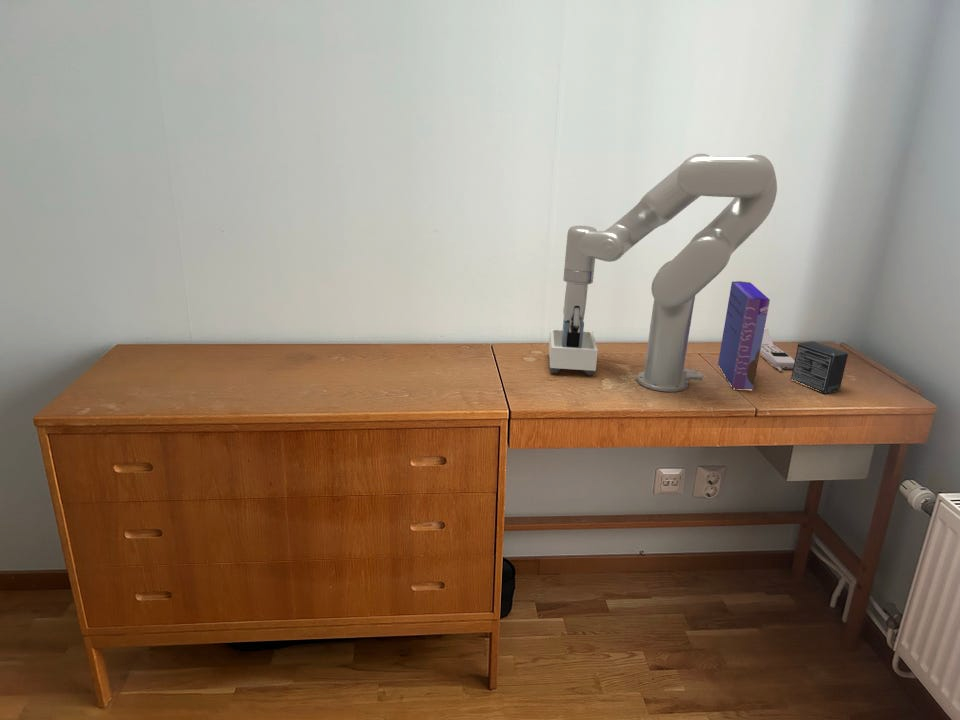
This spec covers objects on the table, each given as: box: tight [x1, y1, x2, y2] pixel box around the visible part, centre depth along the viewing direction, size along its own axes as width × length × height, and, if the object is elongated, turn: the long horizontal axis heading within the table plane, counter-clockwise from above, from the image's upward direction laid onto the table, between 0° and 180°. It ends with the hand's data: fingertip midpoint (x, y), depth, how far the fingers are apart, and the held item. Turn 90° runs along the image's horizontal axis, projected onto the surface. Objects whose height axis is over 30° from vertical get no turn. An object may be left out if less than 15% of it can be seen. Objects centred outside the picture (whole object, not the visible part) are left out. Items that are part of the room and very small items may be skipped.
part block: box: [561, 318, 585, 348], centre depth 182 cm, size 5×5×7 cm
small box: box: [790, 340, 849, 395], centre depth 178 cm, size 11×6×10 cm, turn 29°
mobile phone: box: [760, 327, 795, 370], centre depth 199 cm, size 6×6×25 cm
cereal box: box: [717, 280, 771, 390], centre depth 179 cm, size 17×5×24 cm, turn 174°
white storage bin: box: [548, 328, 599, 376], centre depth 184 cm, size 12×16×7 cm
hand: (571, 342), depth 183 cm, fingers closed on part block, 5 cm apart
